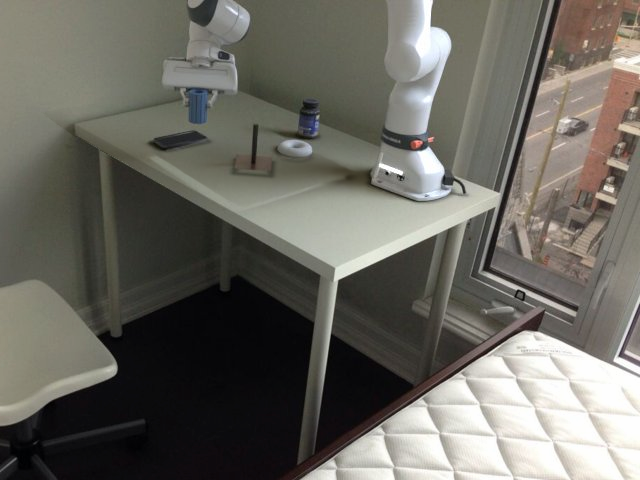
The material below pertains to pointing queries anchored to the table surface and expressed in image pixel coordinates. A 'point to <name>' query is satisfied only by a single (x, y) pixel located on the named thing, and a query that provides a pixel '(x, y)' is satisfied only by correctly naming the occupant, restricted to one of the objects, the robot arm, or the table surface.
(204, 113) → the tube
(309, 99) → the pill bottle
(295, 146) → the donut
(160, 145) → the phone
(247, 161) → the dowel stand
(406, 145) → the robot arm
